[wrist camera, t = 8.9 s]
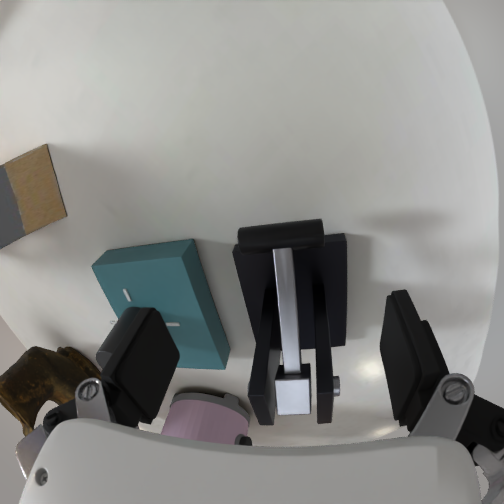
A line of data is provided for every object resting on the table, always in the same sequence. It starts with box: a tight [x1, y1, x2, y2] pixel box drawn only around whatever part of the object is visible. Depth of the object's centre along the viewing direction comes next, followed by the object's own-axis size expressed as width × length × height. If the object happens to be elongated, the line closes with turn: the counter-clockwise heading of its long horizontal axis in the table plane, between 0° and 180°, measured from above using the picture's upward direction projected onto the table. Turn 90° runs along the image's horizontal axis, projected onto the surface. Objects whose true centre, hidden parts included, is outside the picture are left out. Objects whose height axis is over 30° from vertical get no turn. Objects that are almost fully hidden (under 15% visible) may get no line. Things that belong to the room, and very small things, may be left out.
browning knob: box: [96, 307, 141, 369], centre depth 23 cm, size 4×4×6 cm
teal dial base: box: [91, 239, 230, 370], centre depth 27 cm, size 14×11×3 cm
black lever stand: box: [232, 233, 347, 425], centre depth 20 cm, size 12×9×12 cm
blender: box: [161, 393, 252, 446], centre depth 24 cm, size 16×12×32 cm
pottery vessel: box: [0, 346, 102, 437], centre depth 32 cm, size 25×11×20 cm, turn 19°
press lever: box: [237, 219, 325, 415], centre depth 17 cm, size 12×5×2 cm, turn 11°
